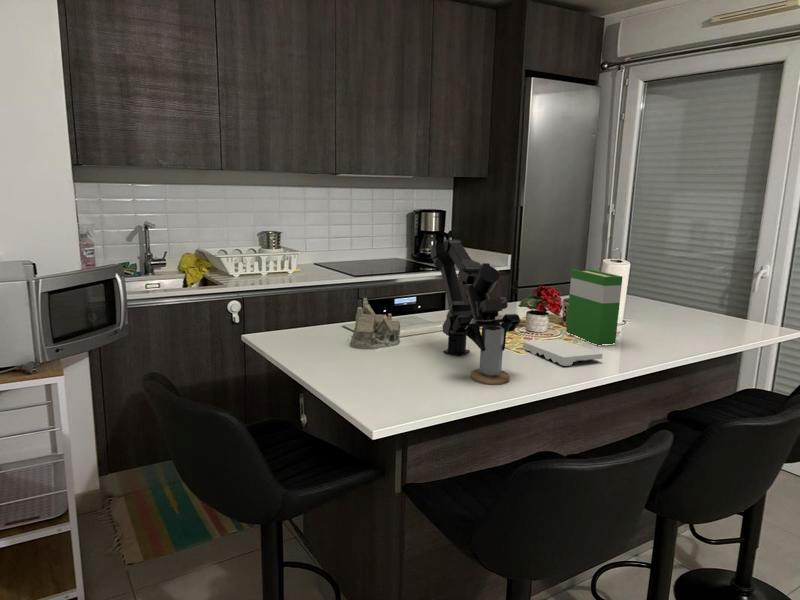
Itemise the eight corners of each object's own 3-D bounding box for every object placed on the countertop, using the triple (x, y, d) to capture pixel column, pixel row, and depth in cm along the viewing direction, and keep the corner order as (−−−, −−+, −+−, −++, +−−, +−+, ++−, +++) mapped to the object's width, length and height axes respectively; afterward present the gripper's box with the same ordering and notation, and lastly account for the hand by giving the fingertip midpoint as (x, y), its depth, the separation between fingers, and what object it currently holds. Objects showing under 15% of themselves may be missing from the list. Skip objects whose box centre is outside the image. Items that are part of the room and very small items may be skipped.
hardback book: (565, 333, 218) (571, 269, 213) (582, 332, 221) (588, 268, 216) (597, 346, 202) (605, 277, 197) (615, 344, 205) (622, 276, 200)
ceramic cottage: (343, 346, 190) (347, 301, 188) (361, 336, 206) (365, 294, 203) (389, 355, 186) (394, 308, 184) (403, 344, 202) (408, 301, 199)
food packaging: (522, 352, 195) (562, 368, 177) (523, 342, 194) (563, 357, 176) (559, 348, 201) (601, 364, 183) (559, 339, 200) (602, 353, 182)
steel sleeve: (476, 368, 166) (479, 325, 164) (495, 367, 168) (498, 325, 165) (484, 375, 161) (487, 330, 158) (503, 374, 162) (507, 330, 160)
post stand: (480, 369, 172) (481, 353, 171) (515, 377, 166) (516, 360, 165) (463, 379, 163) (464, 362, 162) (500, 387, 157) (501, 370, 156)
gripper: (458, 287, 161) (471, 336, 153) (520, 286, 166) (536, 334, 158) (446, 309, 170) (458, 357, 162) (505, 307, 175) (520, 353, 167)
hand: (493, 350), depth 162 cm, fingers closed on steel sleeve, 5 cm apart
